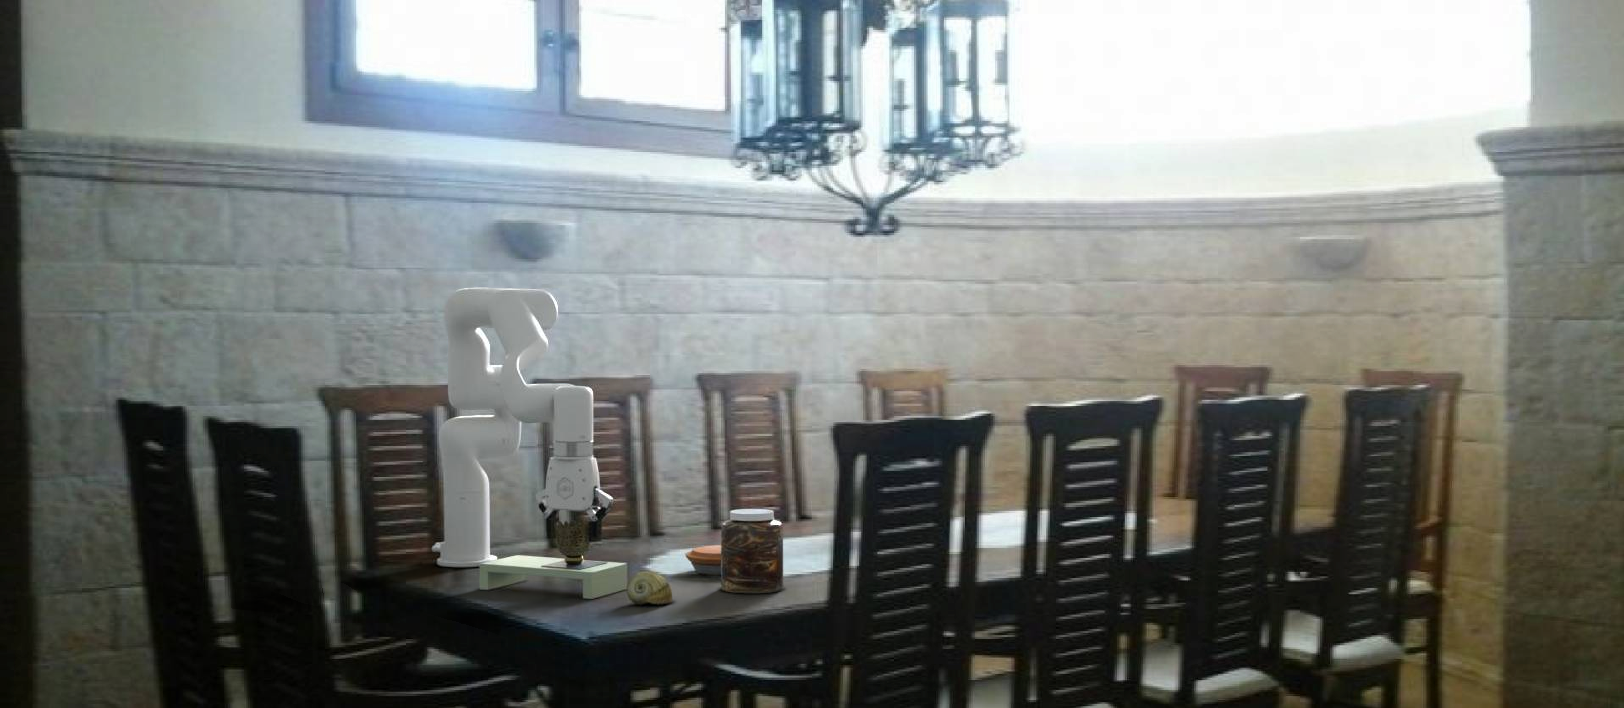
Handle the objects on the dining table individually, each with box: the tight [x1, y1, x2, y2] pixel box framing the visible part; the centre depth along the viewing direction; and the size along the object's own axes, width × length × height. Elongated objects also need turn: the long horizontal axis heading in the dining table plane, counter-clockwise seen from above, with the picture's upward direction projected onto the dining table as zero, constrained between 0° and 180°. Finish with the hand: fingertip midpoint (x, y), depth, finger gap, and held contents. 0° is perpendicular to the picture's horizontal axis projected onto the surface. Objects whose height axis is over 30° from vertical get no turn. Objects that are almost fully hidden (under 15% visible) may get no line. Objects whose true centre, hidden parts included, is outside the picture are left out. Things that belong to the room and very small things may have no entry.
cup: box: [555, 519, 592, 565], centre depth 291 cm, size 8×7×8 cm
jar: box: [720, 508, 784, 595], centre depth 292 cm, size 12×12×15 cm
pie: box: [684, 544, 721, 576], centre depth 314 cm, size 15×16×5 cm
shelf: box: [478, 554, 628, 600], centre depth 293 cm, size 26×12×5 cm, turn 64°
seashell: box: [626, 570, 673, 606], centre depth 277 cm, size 10×7×8 cm
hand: (573, 539), depth 291 cm, fingers open, 9 cm apart
